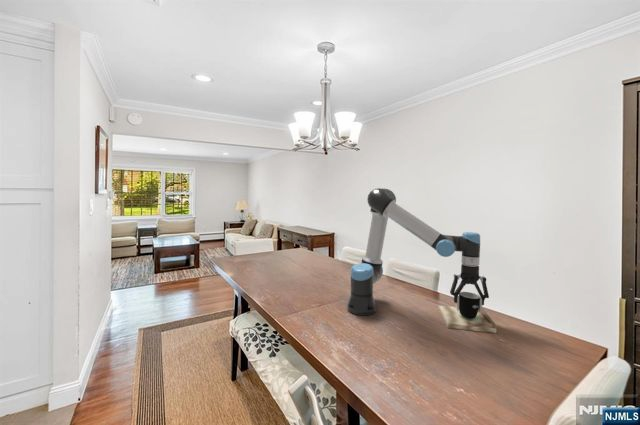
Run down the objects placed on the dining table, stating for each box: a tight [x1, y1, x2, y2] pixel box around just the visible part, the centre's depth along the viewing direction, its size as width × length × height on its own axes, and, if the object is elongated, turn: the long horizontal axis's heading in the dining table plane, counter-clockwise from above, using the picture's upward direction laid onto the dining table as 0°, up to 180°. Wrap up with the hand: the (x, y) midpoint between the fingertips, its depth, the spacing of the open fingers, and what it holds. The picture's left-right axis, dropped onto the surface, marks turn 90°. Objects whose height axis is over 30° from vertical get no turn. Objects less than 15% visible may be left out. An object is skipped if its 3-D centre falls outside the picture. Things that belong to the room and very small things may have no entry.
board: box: [438, 305, 498, 334], centre depth 132 cm, size 20×21×4 cm
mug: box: [458, 291, 480, 318], centre depth 131 cm, size 12×9×10 cm
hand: (468, 310), depth 132 cm, fingers closed on mug, 9 cm apart
